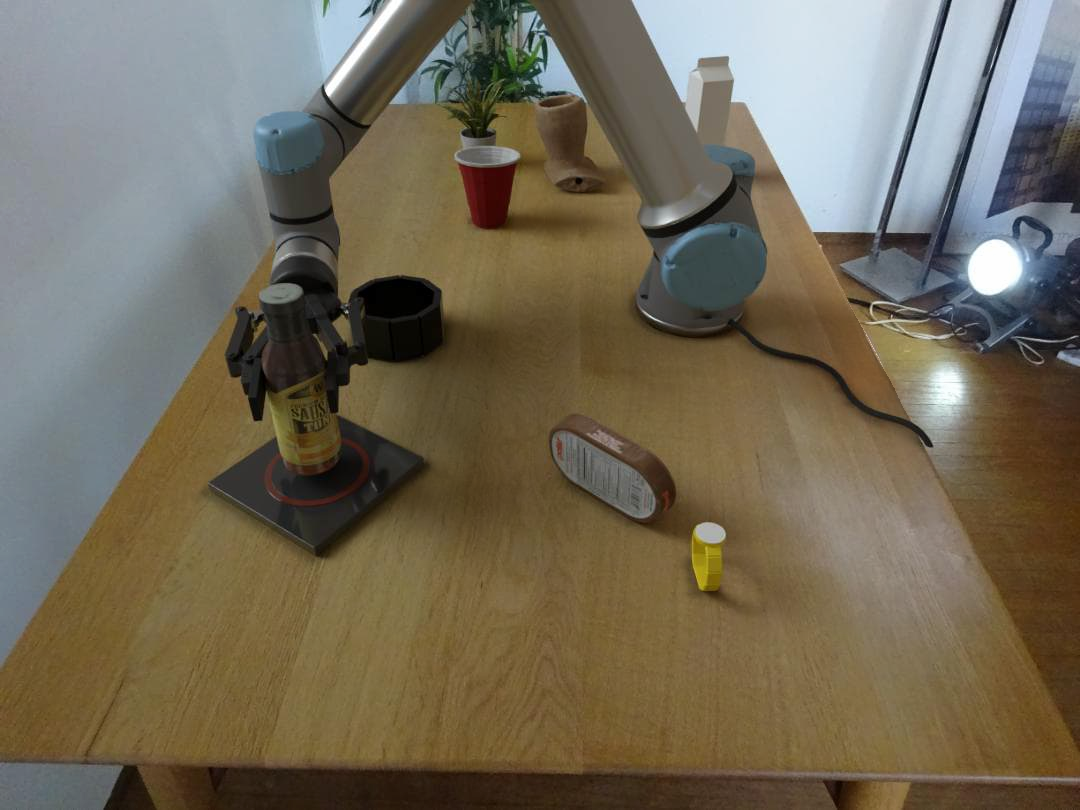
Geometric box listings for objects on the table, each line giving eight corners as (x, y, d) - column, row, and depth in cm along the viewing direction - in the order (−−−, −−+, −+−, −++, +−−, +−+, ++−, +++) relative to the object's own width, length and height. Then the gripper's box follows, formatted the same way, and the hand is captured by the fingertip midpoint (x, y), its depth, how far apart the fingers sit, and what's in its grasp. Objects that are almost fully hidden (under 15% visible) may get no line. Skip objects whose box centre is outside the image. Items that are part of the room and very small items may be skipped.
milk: (718, 183, 152) (738, 60, 139) (689, 186, 151) (706, 63, 137) (705, 171, 157) (722, 51, 143) (676, 174, 156) (691, 53, 142)
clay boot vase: (530, 166, 158) (530, 87, 149) (590, 163, 160) (593, 85, 150) (542, 197, 146) (543, 114, 137) (606, 194, 148) (611, 111, 139)
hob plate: (424, 465, 89) (423, 456, 88) (316, 556, 78) (313, 547, 77) (322, 414, 96) (320, 405, 95) (209, 491, 85) (206, 481, 84)
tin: (673, 524, 82) (683, 462, 77) (655, 541, 80) (663, 478, 75) (562, 457, 90) (564, 397, 85) (543, 471, 88) (543, 410, 83)
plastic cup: (524, 209, 142) (524, 142, 135) (517, 236, 134) (516, 166, 126) (463, 206, 143) (460, 139, 136) (452, 233, 134) (448, 163, 127)
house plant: (477, 144, 168) (473, 61, 158) (530, 158, 161) (530, 73, 152) (431, 164, 159) (424, 78, 149) (486, 180, 152) (482, 91, 142)
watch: (724, 602, 74) (734, 558, 70) (694, 603, 74) (703, 559, 70) (710, 552, 79) (718, 509, 75) (682, 553, 79) (689, 510, 75)
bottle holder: (463, 329, 111) (460, 291, 107) (401, 372, 103) (396, 332, 99) (397, 304, 116) (393, 266, 112) (334, 343, 108) (327, 304, 104)
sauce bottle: (310, 488, 82) (269, 321, 70) (271, 463, 85) (225, 298, 73) (358, 454, 86) (327, 290, 74) (319, 431, 89) (283, 270, 77)
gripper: (392, 305, 96) (402, 425, 78) (224, 320, 93) (195, 448, 75) (385, 248, 92) (394, 362, 74) (209, 261, 89) (173, 383, 71)
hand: (294, 405), depth 75 cm, fingers closed on sauce bottle, 6 cm apart
